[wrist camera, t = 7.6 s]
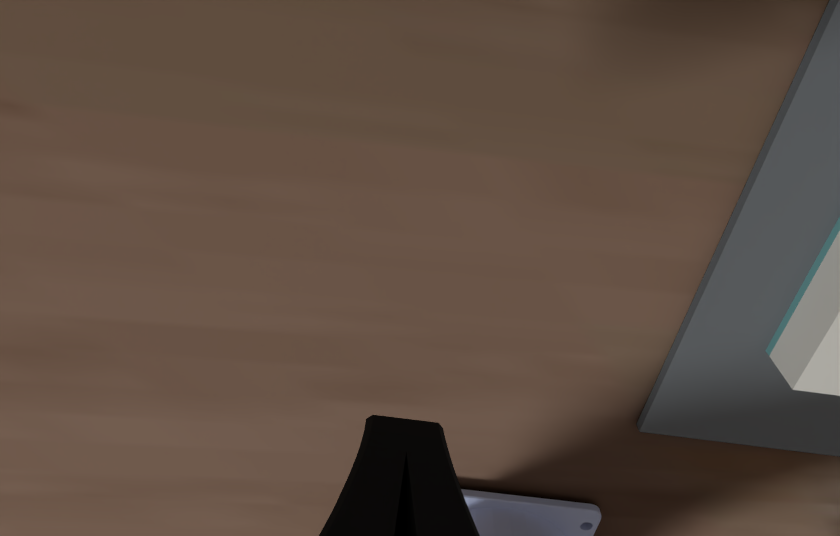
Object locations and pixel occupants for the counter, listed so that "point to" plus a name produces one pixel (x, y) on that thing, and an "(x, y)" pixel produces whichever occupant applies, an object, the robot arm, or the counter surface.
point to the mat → (763, 282)
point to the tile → (813, 327)
